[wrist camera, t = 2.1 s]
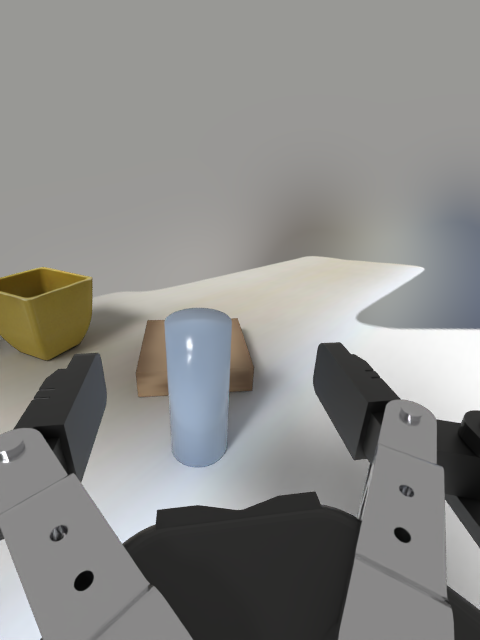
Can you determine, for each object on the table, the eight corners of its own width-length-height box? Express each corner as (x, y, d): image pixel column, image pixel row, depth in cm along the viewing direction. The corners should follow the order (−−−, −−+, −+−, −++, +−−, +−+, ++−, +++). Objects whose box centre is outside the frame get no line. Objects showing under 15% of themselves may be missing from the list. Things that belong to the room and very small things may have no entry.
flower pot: (56, 326, 47) (42, 265, 43) (103, 340, 44) (94, 276, 41) (-7, 355, 40) (-30, 284, 36) (45, 374, 37) (26, 300, 33)
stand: (138, 397, 34) (135, 372, 33) (149, 340, 45) (147, 320, 44) (252, 390, 36) (253, 367, 35) (236, 337, 47) (237, 318, 46)
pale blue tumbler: (170, 469, 27) (162, 338, 21) (172, 426, 31) (165, 308, 26) (230, 464, 27) (236, 336, 22) (223, 422, 32) (227, 307, 26)
